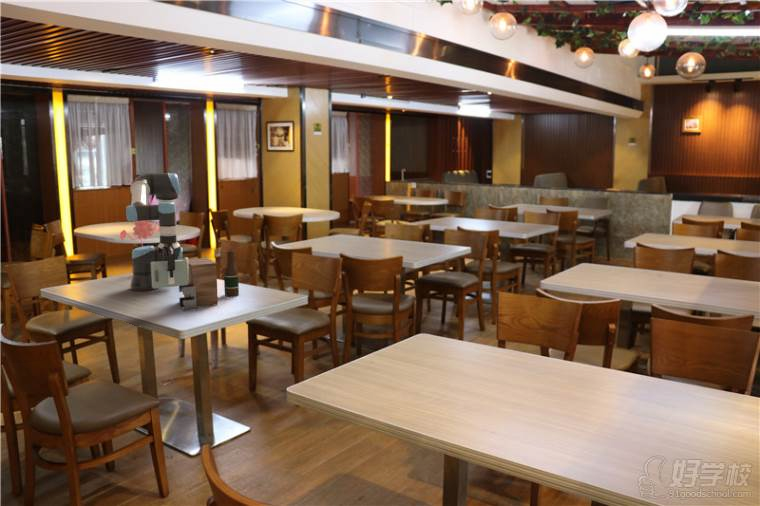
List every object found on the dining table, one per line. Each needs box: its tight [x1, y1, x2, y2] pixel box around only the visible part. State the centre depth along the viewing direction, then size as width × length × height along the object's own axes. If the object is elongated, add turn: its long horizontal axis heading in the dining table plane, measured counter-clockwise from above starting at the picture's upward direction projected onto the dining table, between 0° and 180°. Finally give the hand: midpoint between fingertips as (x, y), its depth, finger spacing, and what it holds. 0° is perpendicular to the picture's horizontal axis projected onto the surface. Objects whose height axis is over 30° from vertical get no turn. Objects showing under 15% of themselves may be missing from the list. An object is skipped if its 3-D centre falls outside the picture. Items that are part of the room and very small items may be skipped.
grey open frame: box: [178, 283, 197, 312], centre depth 314 cm, size 8×6×12 cm
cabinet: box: [183, 257, 219, 308], centre depth 326 cm, size 18×13×21 cm
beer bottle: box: [223, 250, 240, 298], centre depth 342 cm, size 8×8×24 cm
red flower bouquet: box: [119, 221, 160, 274], centre depth 389 cm, size 15×26×35 cm, turn 130°
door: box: [151, 257, 189, 290], centre depth 308 cm, size 5×17×13 cm, turn 122°
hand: (170, 283), depth 309 cm, fingers closed on door, 4 cm apart
